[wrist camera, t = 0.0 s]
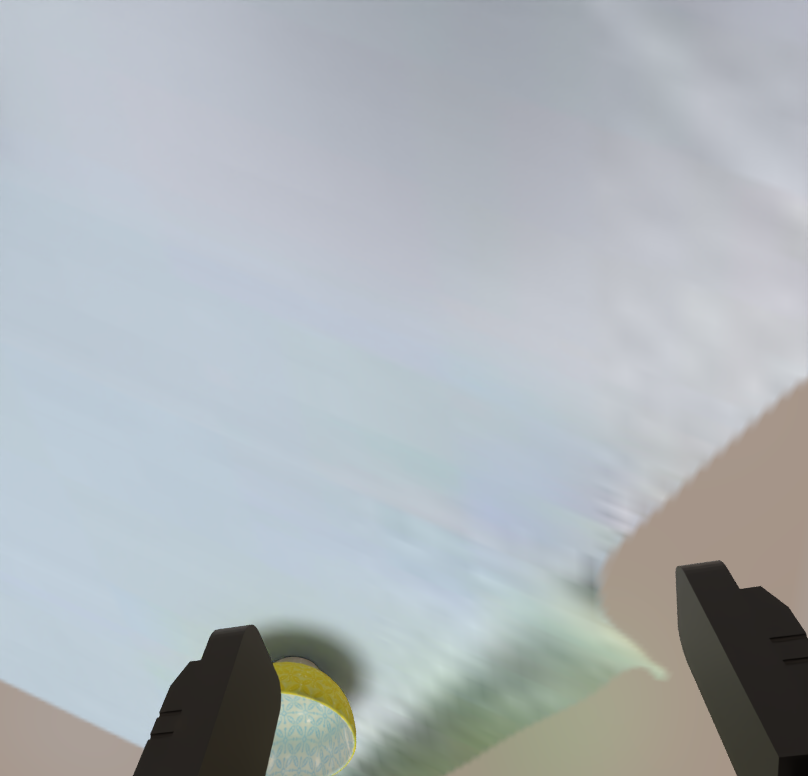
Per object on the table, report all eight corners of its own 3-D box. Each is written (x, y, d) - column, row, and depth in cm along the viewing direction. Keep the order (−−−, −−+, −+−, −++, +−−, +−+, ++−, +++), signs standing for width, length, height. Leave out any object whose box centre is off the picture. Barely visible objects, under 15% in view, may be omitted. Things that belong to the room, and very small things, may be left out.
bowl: (351, 727, 58) (343, 796, 53) (225, 707, 58) (204, 775, 52) (373, 639, 53) (367, 706, 48) (235, 616, 52) (212, 680, 47)
